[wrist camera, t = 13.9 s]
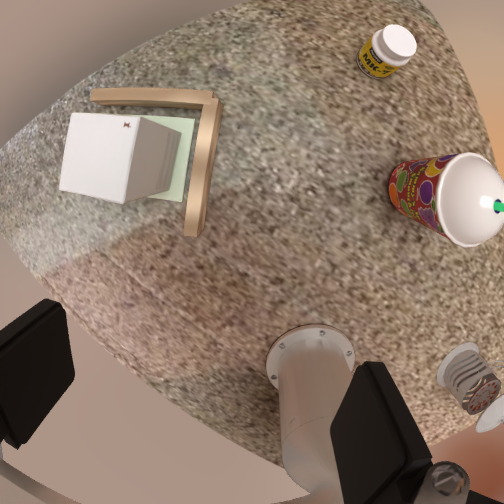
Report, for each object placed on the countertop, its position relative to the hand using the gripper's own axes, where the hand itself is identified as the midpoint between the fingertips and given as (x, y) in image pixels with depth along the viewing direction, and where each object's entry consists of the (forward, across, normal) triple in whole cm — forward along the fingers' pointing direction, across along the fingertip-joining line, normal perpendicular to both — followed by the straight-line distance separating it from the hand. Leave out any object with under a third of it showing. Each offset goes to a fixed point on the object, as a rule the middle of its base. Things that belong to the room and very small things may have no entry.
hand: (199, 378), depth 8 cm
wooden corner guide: (+28, +13, -6) cm, 32 cm away
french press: (+28, -41, +17) cm, 53 cm away
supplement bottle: (+28, -12, -23) cm, 39 cm away
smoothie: (+28, -19, -8) cm, 35 cm away
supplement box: (+28, +13, -6) cm, 32 cm away
